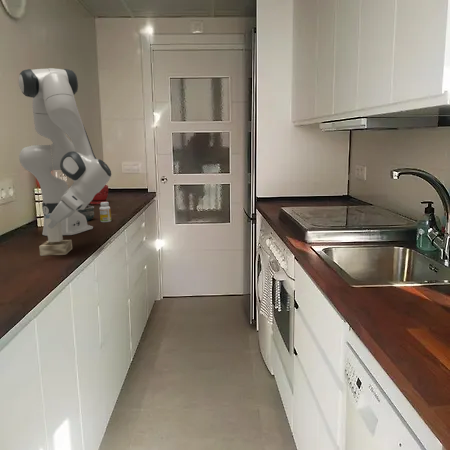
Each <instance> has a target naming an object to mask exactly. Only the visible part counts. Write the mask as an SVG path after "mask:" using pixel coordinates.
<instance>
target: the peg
mask: <svg viewBox="0 0 450 450" xmlns="http://www.w3.org/2000/svg"><path fill="white" fill-rule="evenodd" d="M50 215H51V213H49V214H47V215H45V216H46V225H47V234H48V236H47V241H48V242H60V241H61V240H64V237H63V235H62V227H61V222H59V223H58V224H56V225H55V226H54V227H53V228H52V229H51V228H49V227H48V225H49V223H50V222H51V221H52V220H51V219H50V218H49V216H50Z"/></svg>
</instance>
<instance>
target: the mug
mask: <svg viewBox="0 0 450 450" xmlns="http://www.w3.org/2000/svg"><path fill="white" fill-rule="evenodd" d="M94 209H95V206H93V205H92V206H91V205H89V204H88V205H87V206H86V207H85V209H84V210H81V209H80V210H78V212H80V213H81V214H83V215H84V216H85V217H86V220H87V222H88V221H91V220H92V219H94V217H95V211H94Z"/></svg>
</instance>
